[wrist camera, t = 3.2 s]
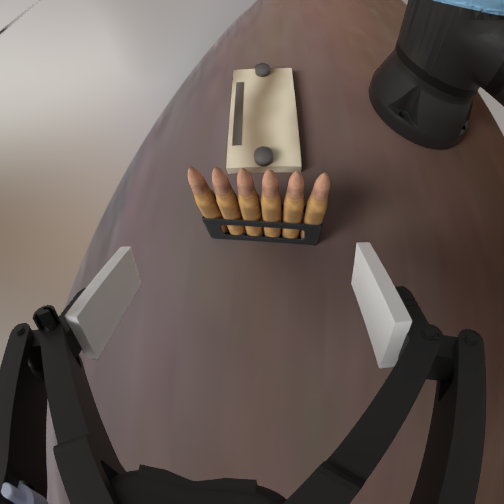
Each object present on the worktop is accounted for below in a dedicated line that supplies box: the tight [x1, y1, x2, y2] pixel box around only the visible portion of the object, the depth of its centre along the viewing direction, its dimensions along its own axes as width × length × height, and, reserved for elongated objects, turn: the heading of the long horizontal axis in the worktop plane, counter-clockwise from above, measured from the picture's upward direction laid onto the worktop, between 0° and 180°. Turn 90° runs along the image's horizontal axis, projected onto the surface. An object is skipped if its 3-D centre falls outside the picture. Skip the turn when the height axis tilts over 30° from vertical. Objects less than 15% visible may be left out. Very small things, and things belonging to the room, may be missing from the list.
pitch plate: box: [226, 63, 301, 174], centre depth 33 cm, size 8×17×2 cm, turn 179°
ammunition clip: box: [188, 167, 330, 245], centre depth 24 cm, size 11×2×12 cm, turn 85°
